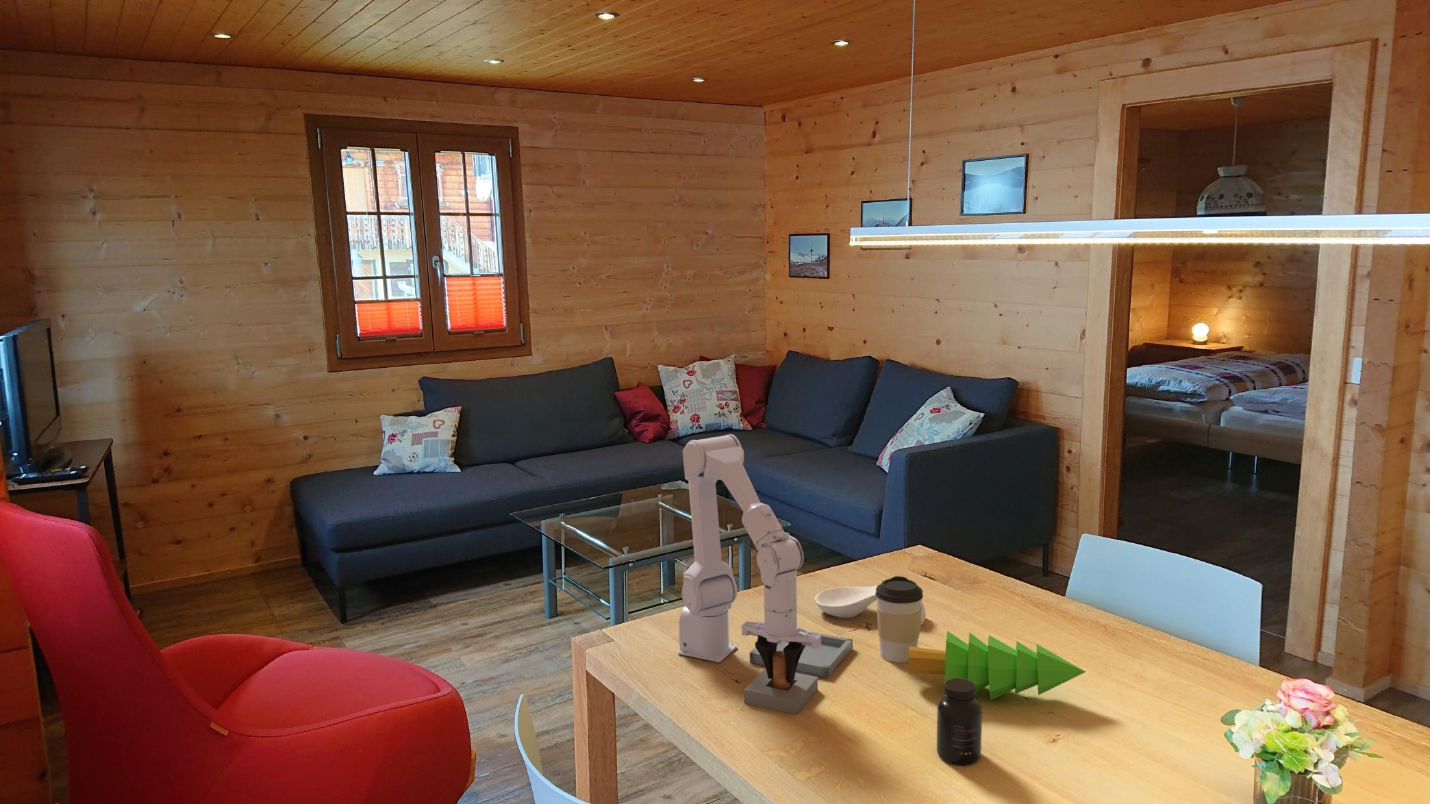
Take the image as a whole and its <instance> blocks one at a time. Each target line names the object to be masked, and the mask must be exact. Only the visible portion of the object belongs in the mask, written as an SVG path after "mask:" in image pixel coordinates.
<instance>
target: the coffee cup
mask: <svg viewBox="0 0 1430 804" xmlns="http://www.w3.org/2000/svg"><path fill="white" fill-rule="evenodd" d="M876 586H877V587H876V593H875V595H876V596H877V600H876V615H877V618H876V619H877V620H876V621H877V634H878V638H879V650H880V651H879V653H880V657H881V658H882V659H883V660H885V661H888V662H891V663H897V664H905V663H908V654H909V647H918V643H919V638H920V632H921V631H920V629H921V625H920V622H921V611H922V607H921V601H923V600H922V599H923V597H924V595H923V593H924V590H923V589H922V587H921V586H919V585H918V583H916V582H915V581H914V580H911V579H909V578H907V577H906V576H900V575H899V576H898V575H897V576H895V575H894V576H893V577H891V578H888V579H885V580H883V581H881V583H880V584H878V585H876Z"/></svg>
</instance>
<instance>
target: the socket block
mask: <svg viewBox="0 0 1430 804" xmlns="http://www.w3.org/2000/svg"><path fill="white" fill-rule="evenodd" d="M818 680H819V676H814V675H809V674H804V673H799V672H795V678H794V680H793V681H792V682H791V683H790V689H789V690H788V691H785V690H781V689H776V688H773V678H772V679H768V675H767V671H766V668H765V667H764V669H763V670H762V671H761V672H760V673H759V674H758V675H757V676H756V677H755V678H754V679H753V680H752V681H751V682H750V683H749V684H747V686H746V687H745V688H744V689H743V702H744V704H748V705H753V706H757V707H760V708H764V709H765V708H766V709H769V710H774V711H779V712H782V713H788V714H792V715H795V716H796V715H798V713H800V711H802V710H803V708H804V707H805V705H806V704H807V703H808V702H809V701H810V700H811V698H812V697H813V696H814V695H815V694H816V693H817V691H818V690H819V687H818V686H819V681H818Z"/></svg>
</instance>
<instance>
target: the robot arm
mask: <svg viewBox="0 0 1430 804" xmlns="http://www.w3.org/2000/svg"><path fill="white" fill-rule="evenodd" d="M744 451H745V450H744V449H743V447H742V445H741V442H740V440H739V439H738V438H737V436H736V435H734V434H731V433H729V434H726V435H720V436H715V437H708V438H703V439H697V440H696V439H691V440H689V441H688V442H687V444H686V445H685V447H684V448H683V449H682V458H683V459H682V460H683V471H684V479H685V480H686V481H688V491H689V502H690V503H689V505H690V514H691V515H690V516H691V528H692V530H691V531H692V539H693V540H692V542H693V553H694V555H693V556H694V562H693V563H692V564H691V565H690V566H689V568H687V570H685V572H684V573H683V574H682V575H683V584H682V589H681V597H682V602H683V604H684V607H683V608H682V610H681V612H680V615H679V620H678V633H679V636H678V637H679V649H678V651H677V654H678V655H682V656H685V657H686V656H687V657H690V658H691V657H692V658H697V659H699V660H700V659H701V660H706V661H710V662H714V663H721V662H722V661H724V659H726V658H727V656H729V655H730V654H731V653H733V651H734V650H735V649H737V648H738V645H737V644H734V643H731V642H730V637H729V636H730V635H729V633H730V631H729V630H730V628H729V627H730V624H729V610H730V609H732V604H733V603H734V602H735V601H736V599H737V595H738V586H737V582H736V580H735V577H734V574H733V573H734V571H733V570H734V569H733V568H732V567H731V566H730V565H729V564H728V563H726V562H724V561H723V560H722V549H721V547H722V546H721V538H720V537H721V536H720V524H719V511H718V499H717V488H716V486H717V485H716V483H717V482H718V480H719V481H722V482H723V483H724V485H725V486H726V488H727V490H728V492H730V494H731V496H732V497H733V499H734V500H735V502H736V503H737V504H738V506H739V507H740V509H741V511H742V512H743V513H742V516H741V523H742V524H743V526H744V528H745V530H746V533H748V535H749V537H750V539H751V541H752V543H753V545H754V547H755V548H756V550H757V555H756V563H757V566H758V568H759V570H760V571H759V572H760V579H761V583H762V584H763V590H764V592H763V595H764V596H763V600H764V603H763V604H764V606H763V607H764V611H763V613H764V622H759V621H745V622H744V623H742V624H741V636H744V637H747V636H754V637H757V640H756V641H755V642H754V646H755V647H754V648H756V649H757V650H758V652H759V654H760V655H761V657H762V660H763V662H764V665H763V666H764V669H765V668H766V671H767V675H768V679H772V678H773V653H774V652H776V651H777V642H779V641H784V642H789V644H788V645H787V646H786V647H785V648H784V649H783V652H784V655H785V661H786V681H787V683H791V682H792V681H793V680H794V678H795V672H796V668H797V665H798V662H799V659H800V656H801V654H802V652H803V650H804V648H805V646H810V647H812V649H818V648H819V647H820V646H821V635H818V634H814V633H811V632H812V631H810V630H806V629H804V628H802V627H801V628H800V627H798V623H797V622H798V610H797V609H798V605H797V604H798V602H797V600H798V599H797V591H798V589H797V587H798V586H797V583H798V582H797V580H798V579H797V570H799V569H801V567H802V566H803V564H804V559H805V558H804V552H803V548H802V546H801V544H800V542H799V540H798V539H797V538H796V537H794V536H791V535H790V533H789V532H785V531H784V529H783V527H782V525H781V523H780V522H779V520H778V518H777V517H776V515H775V513H774V511H773V510H772V508H771V506H770V505H769V504H765V503H762V502H761V501H760V498H759V497H758V495H757V492H756V490H755V488H754V486H753V484H752V481H751V479H750V477H749V475H748V473H747V470H746V468H745V466H744V461H745V460H744V458H745V452H744ZM809 631H810V632H809ZM796 673H797V672H796Z"/></svg>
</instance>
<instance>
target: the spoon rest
mask: <svg viewBox="0 0 1430 804" xmlns="http://www.w3.org/2000/svg"><path fill="white" fill-rule="evenodd" d="M877 586H878V585H875V586H839V587H831V588H828V589H824V590H822V591H820V592H819V593H818V594H816V596H815V598H814V602H815V604H816V606H817V607H818V608H819V609H820V610H821V611H822V612H824V613H826V614H828V615H830V616H833V617H835V618H836V617H837V618H839V619H840V618H841V619H849V618H855V617H857V616H858V615H859V614H860V613H862V612H863V611H865V610H866V609H867V608H868V607H869V606H870V605H871V604H873V603H874V602H876V601H877V596H876V595H875V593H876V587H877ZM922 601H923V600H922ZM922 601H921V607H922V611H921V622H920V626H922V625H924V622H925V620H926V608H925V606H924V602H922Z"/></svg>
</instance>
